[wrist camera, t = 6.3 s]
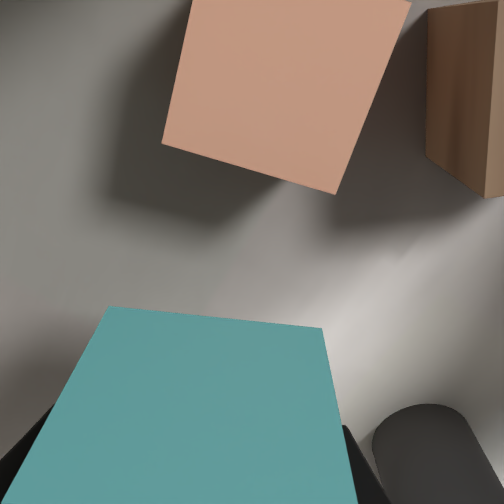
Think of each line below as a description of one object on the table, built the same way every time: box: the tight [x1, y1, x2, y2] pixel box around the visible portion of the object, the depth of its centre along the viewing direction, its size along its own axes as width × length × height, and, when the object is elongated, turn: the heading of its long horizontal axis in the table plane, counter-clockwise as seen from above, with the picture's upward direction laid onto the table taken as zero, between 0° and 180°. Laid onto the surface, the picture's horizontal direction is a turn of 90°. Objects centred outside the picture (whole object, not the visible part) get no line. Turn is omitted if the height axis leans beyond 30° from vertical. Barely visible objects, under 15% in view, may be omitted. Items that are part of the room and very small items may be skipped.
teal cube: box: [1, 306, 358, 504], centre depth 10 cm, size 5×5×5 cm
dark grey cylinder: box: [372, 404, 504, 504], centre depth 22 cm, size 5×5×5 cm
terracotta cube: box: [162, 0, 411, 195], centre depth 14 cm, size 5×5×5 cm
